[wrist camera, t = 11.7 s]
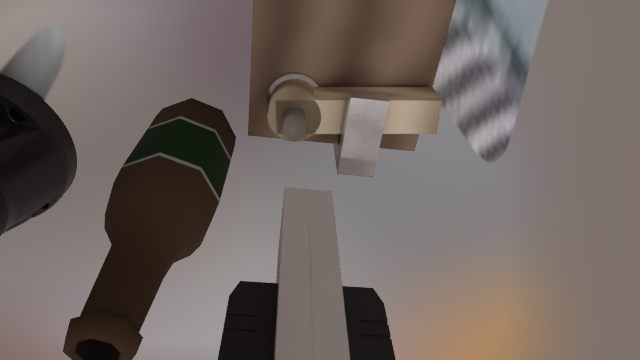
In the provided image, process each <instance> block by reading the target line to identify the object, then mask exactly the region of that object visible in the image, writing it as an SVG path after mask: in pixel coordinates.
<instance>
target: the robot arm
mask: <svg viewBox="0 0 640 360" xmlns="http://www.w3.org/2000/svg"><path fill="white" fill-rule="evenodd" d="M76 168H77V157H76V150H75V146H74V143H73V141H72V138H71V136H70V134H69V132H68V130H67V128H66V126H65V125H64V123H63V122H62V120H61V119H60V118H59V116H58V115H57V114H56V113H55V112H54V110H53V109H52V108H51V107H50V106H49V105H48V104H47V103H46V102H45V101H43V100H42V99H41V98H40V97H39V96H38V95H36V94H35V93H34V92H32V91H31V90H29V89H28V88H26V87H25V86H23V85H21V84H20V83H18V82H16V81H14V80H12V79H10V78H8V77H6V76H4V75H1V74H0V236H1V234H3V233H5V232H6V231H8V230H10V229H12V228H14V227H16V226H18V225H20V224H22V223H24V222H26V221H27V220H29V219H30V218H33V217H35V216H37V215H40V214H41V213H43V212H45V211H46V210H48V209H50V208H51V207H52V206H53V205H54V204H56V203H57V201H58V200H59V199H60V198H61V197H62V195H63V194H64V193H65V192H66V191H67V189H68V188H69V187H70V185H71V184H72V182H73V180H74V177H75V173H76ZM218 360H395V355H394V351H393V346H392V341H391V339H390V331H389V326H388V325H387V317H386V312H385V307H384V303H383V302H382V300H381V299H380V297H379V296H378V295H377V293H376V292H375V290H374V289H373V288H362V287H346V286H342V281H341V272H340V262H339V252H338V244H337V234H336V225H335V215H334V206H333V197H332V192H331V191H320V190H308V189H296V188H285V189H284V200H283V210H282V221H281V230H280V240H279V250H278V265H277V281H276V283H262V282H246V281H245V282H244V281H240V282H239V284H238V285H237V286H236V288H235V289H234V290H233V292H232V293H231V294H230V296H229V301H228V306H227V312H226V318H225V323H224V330H223V334H222V340H221V346H220V351H219V356H218Z"/></svg>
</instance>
